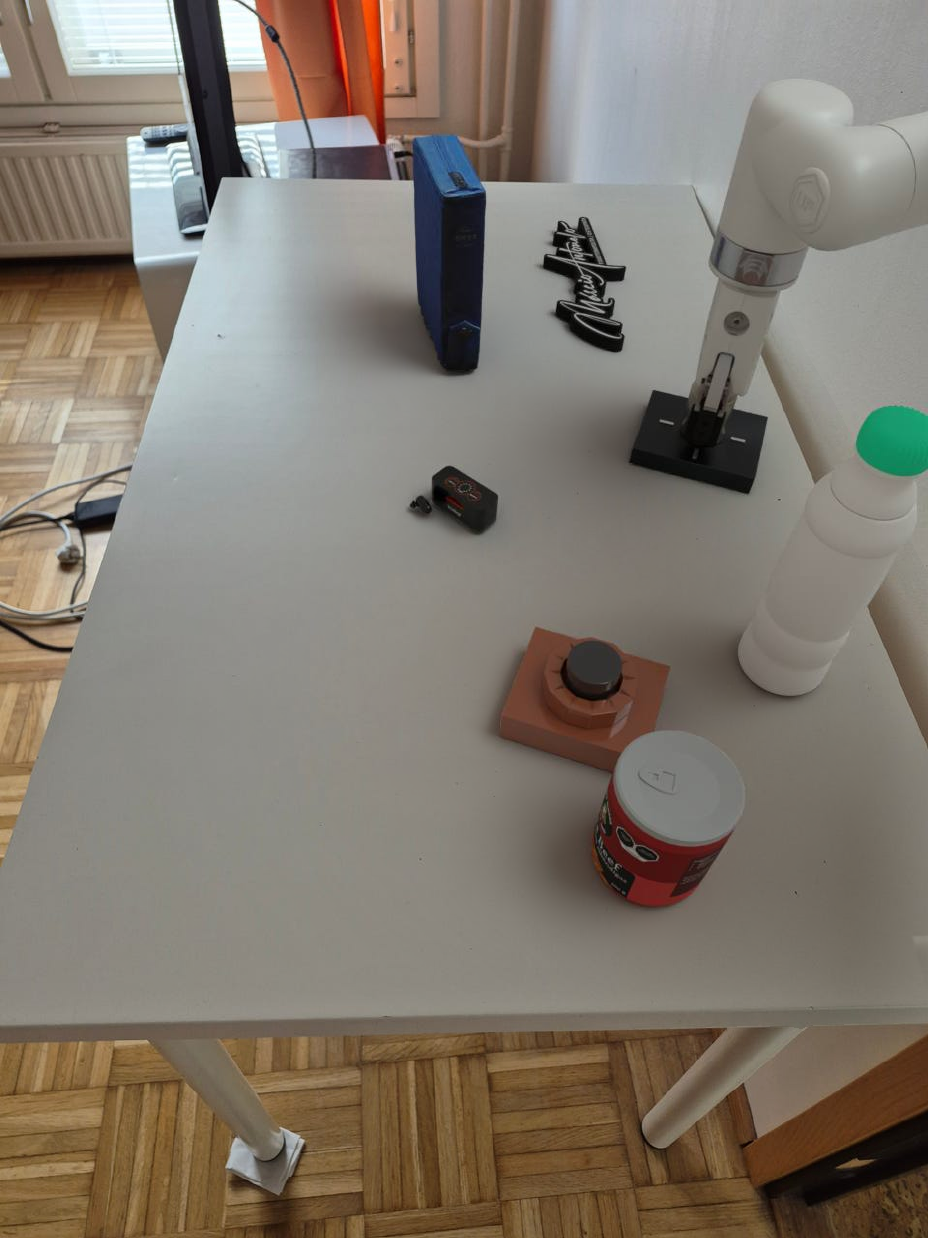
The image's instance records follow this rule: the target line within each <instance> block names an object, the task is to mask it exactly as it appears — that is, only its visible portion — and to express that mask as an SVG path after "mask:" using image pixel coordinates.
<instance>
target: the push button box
mask: <svg viewBox="0 0 928 1238" xmlns="http://www.w3.org/2000/svg"><path fill="white" fill-rule="evenodd" d="M584 641H600V642H603V643H606V644H608V645H609V646H611V647H612V648H614V649H615V650H616V651H617V653H618V654H619V656H620V658H621V661H622V671H621V674H620V677H619V681H618V684H617V687H616V689H615V690H614V692H613V693H612V694H611V695H609V696H608V697H606V698H603V699H599V700H589V699H585V698H582V697H580V696H578V695H576V694H575V693H573V692H572V691H571V690H570V689H569V687H568V686H567V684H566V681H565V677H564V673H565V668H566V663H567V659H568V655H569V652H570V651H571V649H572V648H573V647H574V646H576V645H577V644H579V643H581V642H584ZM670 668H671V666H670V665H668V664H664V663H661V662H657V661H654V660H652V659H647V658H644V657H640V656H637V655H635V654H630V653H627V652H624V651H623V650H622V649H621V648H619V647H618V646H617V645H616V644H614V643H612V642H609V641H605V640H601V639H598V638H595V637H581V638H576V637H572V636H568V635H566V634H563V633H558V632H556V631H552V630H549V629H546V628H543V627H539V626H535V627H534V629H533V632H532V634H531V636H530V639H529V642H528V644H527V647H526V649H525V653H524V655H523V657H522V660H521V662H520V665H519V668H518V670H517V673H516V676H515V678H514V681H513V684H512V686H511V688H510V692H509V694H508V697H507V699H506V702H505V704H504V707H503V710H502V713H501V714H500V715H501V716H500V722H499V730H498V737H501V738H503V739H507V740H511V741H513V742H516V743H518V744H519V743H520V744H522V745H525V746H529V747H532V748H535V749H538V750H541V751H544V752H547V753H551V754H554V755H557V756H561V757H563V758H566V759H570V760H572V761H576V762H578V763H581V764H585V765H589V766H591V767H594V768H598V769H601V770H604V771H607V772H611V773H613V771H614V768H615V766H616V763H617V761H618V759H619V757H620V756H621V754H622V753H623V751H624V750H625V748H626V747H627V746H628V745H629V744H630V743H631V742H632V741H634V740H635V739H637V738H639V737H641V736H642V735H645V734H648V733H651V732H655V728H656V724H657V721H658V716H659V712H660V708H661V704H662V701H663V696H664V692H665V688H666V684H667V679H668V676H669V672H670Z"/></svg>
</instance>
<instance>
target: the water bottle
mask: <svg viewBox="0 0 928 1238" xmlns="http://www.w3.org/2000/svg"><path fill="white" fill-rule="evenodd" d="M853 449H854V450H853V451H854V452H853V453H854V455H853V456H851V457H849V458H847V459H845V460H844V461H842V462H840V464H839V465H838V466H837V467H835V468H834V469H832V470H831V471H829V472H828V473H826V474H825V475H824V476H822V477H821V478H819V480H817V482H816V483H814V485H813V486H812V488H810V489H811V490H810V491H809V493H808V495H807V498H806V500H805V504H804V510H803V511H802V513H801V515H800V517H799V518H798V520H797V522H796V524H795V525H794V527H793V529H792V531H791V532H790V535H789V536H788V539H787V541H786V543H785V545H784V547H783V549H782V551H781V553H780V556H779V558H778V560H777V562H776V564H775V567H774V569H773V572H772V574H771V578H770V580H769V583H768V587H767V589H766V591H764V593H763V594H762V596H761V597H760V599H759V601H758V603H757V604H756V607H755V610H754V612H753V616H752V619H751V621H750V622H749V624H748V625H747V627H746V629H745V630H744V632H743V634H742V637H741V638H740V641H739V644H738V648H737V656H738V662H739V664H740V667H741V669H742V671H743V673H745V675H746V676H747V678H748V679H749V680H750V681H752V683H754V684H755V685H757V686H758V687H760V688H761V689H763V690H765V691H767V692H769V693H772V694H775V695H779V696H785V697H787V696H788V697H794V696H795V697H796V696H801V695H805V694H808V693H810V692H812V691H813V690H815V689H816V688H817V687H819V685H820V684H821V682H823V680H824V679H825V676H826V675H827V673H828V671H829V669H830V668H831V665H832V663H833V661H834V658H835V657H836V656H837V655H838V654H839V653H840V652H841V650H842V648H843V646H844V645H845V643H846V642H847V640H848V638H849V636H850V633H851V630H852V628H853V626H854V625H855V624H856V623H857V622H858V620H859V619H860V618H861V616H862V615H863V613H864V612H865V610H866V609H867V608H868V607H869V605H870V603H871V602H872V600H873V598H874V597H875V595H876V593H877V592H878V591H879V589H880V587H881V586H882V584H883V582H884V580H885V579H886V577H887V575H888V574H889V571H890V569H891V568H892V566H893V564H894V562H895V560H896V558H897V557H898V553H899V552H900V550H902V548H904V547H905V545H906V544H907V543H908V542H909V541H910V539H911V538H912V536H913V535H914V532H915V529H916V526H917V522H918V506H917V505H918V504H917V496H918V488H917V483H916V482H917V481H916V479H919V478H921V477H922V476H923V475H924V474H925V473H926V471H928V415H926V413H924V412H921V411H920V410H918V409H917V410H916V409H915V408H912V407H911V408H910V407H909V406H904V405H887V406H882V407H879V408H876V409H874V410H872V411H871V412H870V413H869V415H867V417H866V418H865V420H864V421H863V423H862V424H861V427H860V429H859V430H858V433H857V436H856V439H855V444H854V448H853Z"/></svg>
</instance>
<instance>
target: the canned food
mask: <svg viewBox="0 0 928 1238" xmlns="http://www.w3.org/2000/svg"><path fill="white" fill-rule="evenodd" d="M745 804H746V789H745V783H744V780H743V778H742V775H741V773H740V771H739V769H738V767H737V766H736V765H735V763H734V762H733V760H732V759H731V757H729V756H728V755H727V754H726V753H725V752H724V751H723V750H722V749H720V748H719V747H718V746H717V745H716V744H714V743H713V742H711V741H709V740H707V739H705V738H704V737H701V736H699V735H696V734H693V733H691V732H687V731H681V730H671V729H670V730H669V729H663V730H654V732H651V733H648V734H645V735H642V736H641V737H639V738H637V739H635V740H634V741H632V742H631V743H630V744H629V745H628V746H627V747H626V748H625V750H624V751H623V753H622V754H621V756H620V757H619V759H618V761H617V763H616V766H615V768H614V771H613V772H612V774H611V777H610V780H609V783H608V786H607V788H606V792H605V795H604V798H603V800H602V803H601V807H600V810H599V813H598V816H597V819H596V822H595V825H594V828H593V830H592V834H591V840H590V851H591V852H590V853H591V857H592V860H593V864H594V868H595V869H596V872H597V873H598V875H599V877H600V879H601V880H602V881H603V882H604V884H605V885H606V887H608V888H609V890H611V891H612V892H613V893H614V894H616V895H617V896H618V897H620V898H622V899H624V900H625V901H627V902H630V903H632V904H635V905H638V906H642V907H647V908H648V907H649V908H650V907H651V908H660V907H661V908H662V907H666V906H670V905H674V904H676V903H678V902H682V901H684V900H685V899H686V898H688V897H690V896H691V895H692V894H693V893H694V892H695V891H696V889H697V888H699V886H700V884H701V882H702V881H703V880H704V878H705V876H706V875H707V873H708V871H709V870H710V869H711V867H712V865H713V864H714V862H715V861H716V859H717V858H718V857H719V855H720V853H721V852H722V850H723V848H724V847H725V846H726V844H727V843H728V841H729V839H730V838H731V836H732V835H733V832H734V831H735V829H736V827H737V825H738V824H739V823H740V820H741V818H742V815H743V813H744V809H745V806H746V805H745Z"/></svg>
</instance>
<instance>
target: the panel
mask: <svg viewBox="0 0 928 1238" xmlns="http://www.w3.org/2000/svg"><path fill="white" fill-rule="evenodd" d="M687 401H688V397H686V396H683V395H677V394H673V393H669V392H665V391H660V390H658V389H652V391H651V394H650V397H649V400H648V402H647V406H646V409H645V411H644V414H643V417H642V419H641V422H640V425H639V428H638V431H637V434H636V437H635V440H634V442H633V444H632V448H631V451H630V452H631V453H630V457H629V461H628V463H629V464H630V465H635V466H638V467H642V468H646V469H650V470H654V471H657V472H662V473H666V474H669V475H672V476H673V475H674V476H677V477H681V478H686V479H689V480H694V481H698V482H701V483H705V484H708V485H713V486H717V487H721V488H724V489H728V490H732V491H737V492H741V493H745V494H750V493H751V491H752V488H753V485H754V483H755V480H756V476H757V473H758V468H759V467H758V466H759V462H760V458H761V453H762V448H763V444H764V438H765V435H766V434H765V433H766V428H767V425H768V421H769V416H766V415H761V414H758V413H753V412H748V411H744V410H741V409H737V408H733V411H732V414H731V417H730V420H729V423H728V426H727V429H726V432H725V435H724V438H723V440H722V441H721V442H719V443H718V444H716V446H715V447H709V446H702V445H697V444H694V443H692V442H689V441H685V440H684V439H683V435H682V434H681V431H680V425H681V422H682V418H683V415H684V411H685V408H686V404H687Z"/></svg>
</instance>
